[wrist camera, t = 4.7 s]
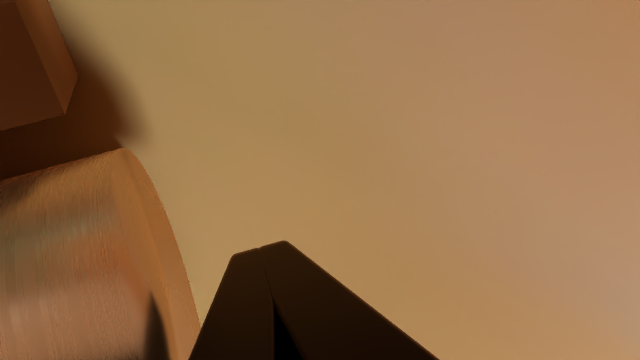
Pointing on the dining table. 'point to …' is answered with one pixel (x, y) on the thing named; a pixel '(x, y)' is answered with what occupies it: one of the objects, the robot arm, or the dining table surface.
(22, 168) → the dining table surface
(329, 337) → the robot arm
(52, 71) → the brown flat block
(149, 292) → the brown rounded bar
